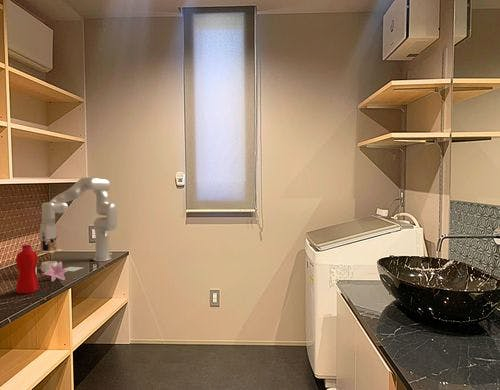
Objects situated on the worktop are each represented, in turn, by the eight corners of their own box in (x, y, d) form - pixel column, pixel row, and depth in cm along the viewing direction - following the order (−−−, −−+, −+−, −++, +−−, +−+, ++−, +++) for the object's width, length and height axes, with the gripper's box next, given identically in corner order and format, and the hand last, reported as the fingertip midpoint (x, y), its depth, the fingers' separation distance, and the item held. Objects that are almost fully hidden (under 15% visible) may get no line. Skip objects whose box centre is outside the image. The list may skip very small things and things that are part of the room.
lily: (40, 283, 232) (43, 270, 228) (47, 271, 242) (50, 258, 239) (61, 288, 235) (65, 275, 232) (67, 276, 246) (71, 264, 242)
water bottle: (42, 288, 217) (41, 242, 216) (32, 294, 206) (31, 246, 205) (25, 288, 217) (24, 243, 216) (13, 294, 206) (12, 246, 205)
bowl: (48, 269, 262) (48, 260, 262) (60, 270, 260) (60, 261, 260) (38, 273, 253) (38, 263, 253) (50, 273, 251) (50, 264, 251)
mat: (69, 268, 267) (69, 266, 267) (84, 269, 265) (84, 267, 265) (58, 271, 256) (58, 270, 256) (73, 272, 254) (73, 271, 254)
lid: (47, 249, 263) (47, 241, 263) (63, 249, 261) (63, 241, 261) (33, 252, 252) (33, 243, 252) (50, 253, 249) (50, 244, 249)
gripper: (52, 220, 265) (53, 247, 265) (33, 222, 248) (33, 251, 249) (62, 220, 263) (62, 247, 264) (43, 223, 246) (44, 252, 247)
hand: (48, 249), depth 256 cm, fingers closed on lid, 5 cm apart
